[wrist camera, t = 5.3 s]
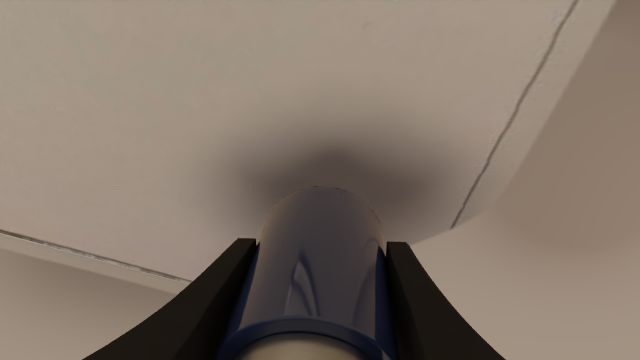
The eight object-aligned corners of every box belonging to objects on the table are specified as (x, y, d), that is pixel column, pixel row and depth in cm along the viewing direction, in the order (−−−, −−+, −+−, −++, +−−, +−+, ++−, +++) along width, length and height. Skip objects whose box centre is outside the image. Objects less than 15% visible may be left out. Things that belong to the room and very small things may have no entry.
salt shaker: (379, 282, 14) (400, 480, 8) (271, 279, 14) (218, 466, 8) (385, 186, 12) (419, 360, 6) (259, 184, 12) (178, 348, 6)
